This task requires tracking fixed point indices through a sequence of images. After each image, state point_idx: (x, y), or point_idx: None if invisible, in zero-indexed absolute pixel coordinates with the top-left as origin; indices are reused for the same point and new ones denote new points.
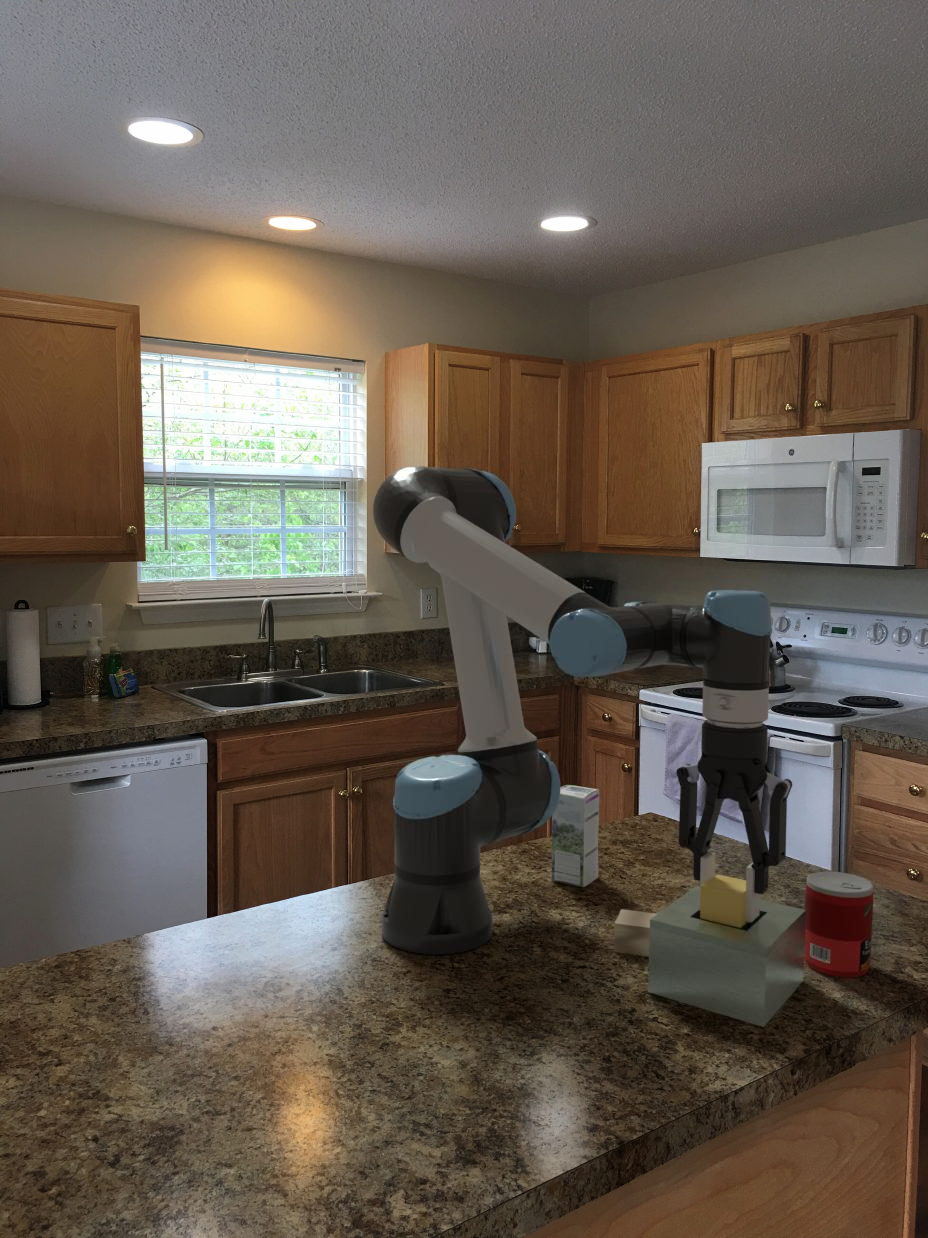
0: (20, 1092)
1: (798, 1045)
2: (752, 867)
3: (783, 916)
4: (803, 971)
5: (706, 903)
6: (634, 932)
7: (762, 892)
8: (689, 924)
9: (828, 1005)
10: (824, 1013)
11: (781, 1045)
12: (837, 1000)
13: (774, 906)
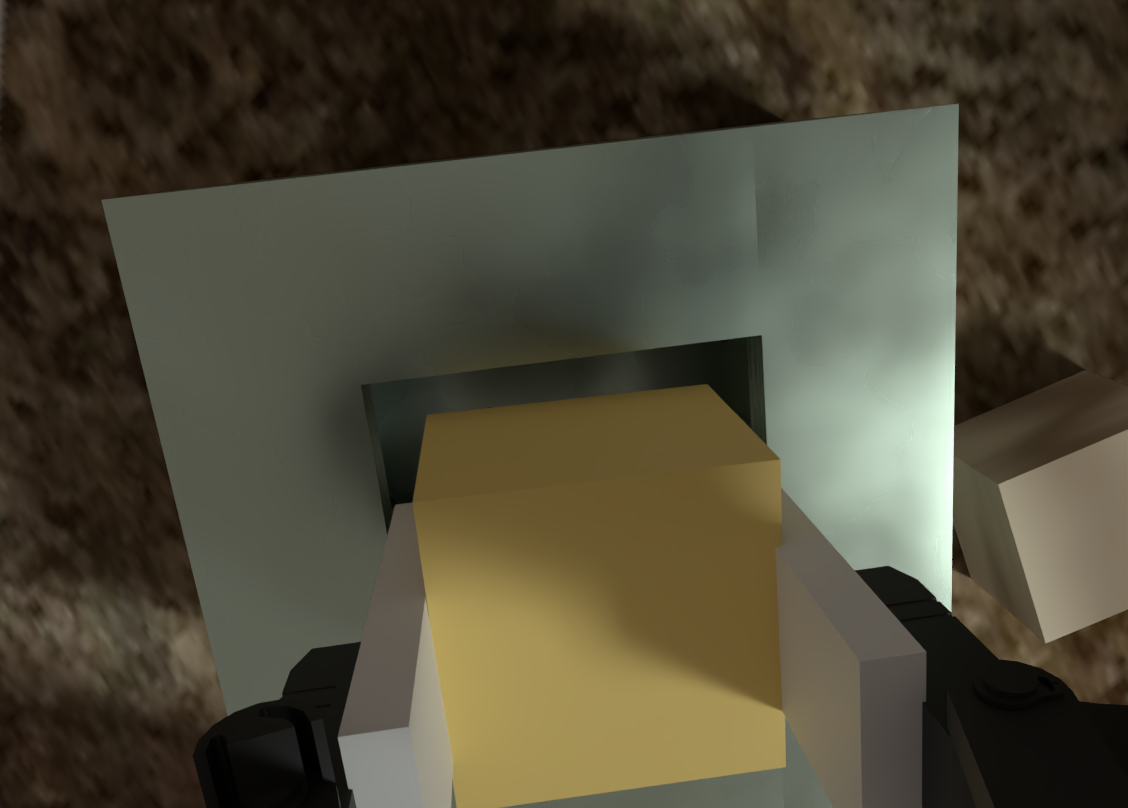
0: None
1: (57, 137)
2: (308, 712)
3: None
4: None
5: (692, 423)
6: (1064, 435)
7: (306, 660)
8: (703, 215)
9: (162, 547)
10: (136, 474)
11: (106, 84)
12: (160, 609)
13: None
